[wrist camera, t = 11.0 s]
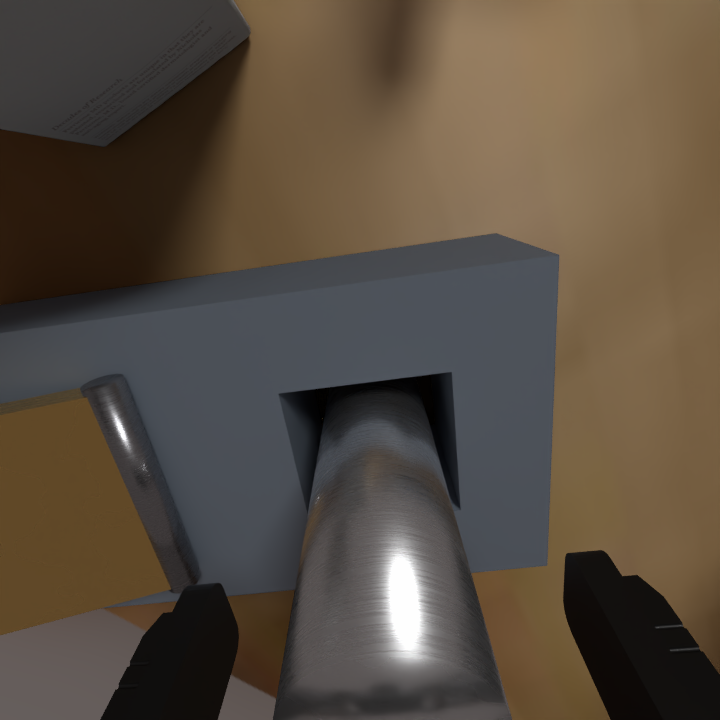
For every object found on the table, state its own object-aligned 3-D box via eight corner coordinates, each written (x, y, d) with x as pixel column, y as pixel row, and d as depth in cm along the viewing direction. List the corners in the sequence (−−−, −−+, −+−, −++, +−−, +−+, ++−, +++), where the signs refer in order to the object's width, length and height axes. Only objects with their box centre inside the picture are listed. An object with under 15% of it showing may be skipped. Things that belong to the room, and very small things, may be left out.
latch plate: (128, 370, 13) (115, 385, 12) (203, 562, 17) (198, 588, 15) (-139, 424, 12) (-179, 445, 11) (-6, 617, 16) (-26, 649, 14)
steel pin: (411, 335, 19) (512, 646, 6) (418, 411, 21) (513, 791, 8) (324, 346, 19) (246, 669, 6) (338, 420, 21) (297, 804, 8)
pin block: (496, 233, 17) (559, 254, 12) (500, 469, 22) (547, 565, 16) (-1, 305, 19) (-155, 354, 13) (100, 513, 23) (17, 616, 18)
